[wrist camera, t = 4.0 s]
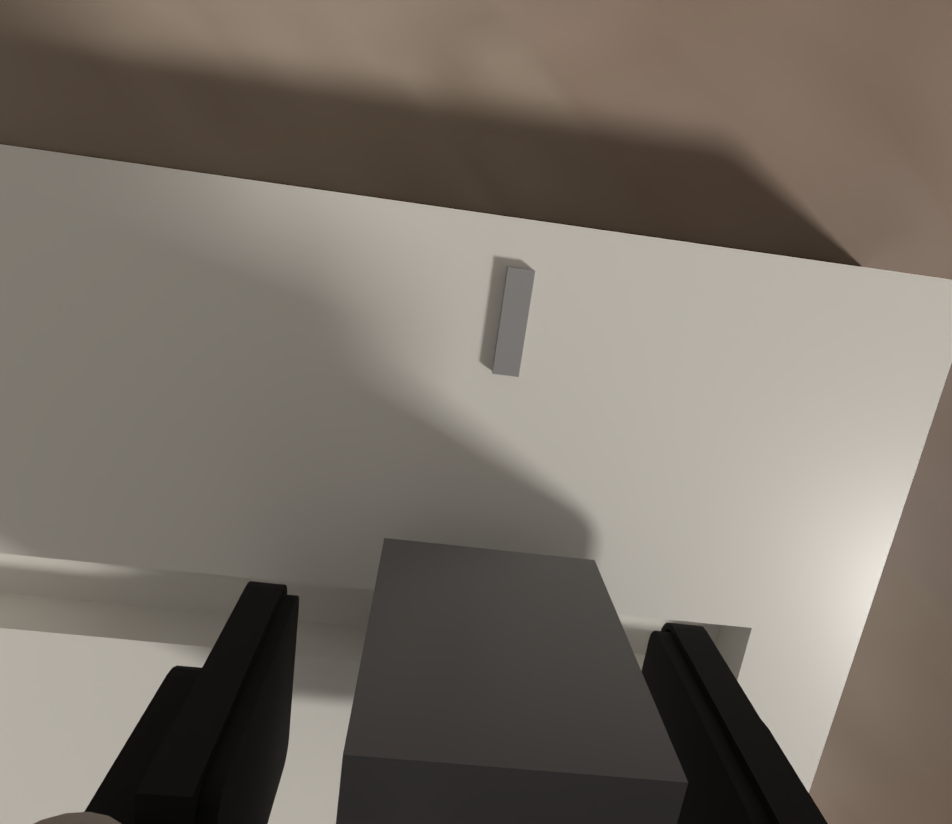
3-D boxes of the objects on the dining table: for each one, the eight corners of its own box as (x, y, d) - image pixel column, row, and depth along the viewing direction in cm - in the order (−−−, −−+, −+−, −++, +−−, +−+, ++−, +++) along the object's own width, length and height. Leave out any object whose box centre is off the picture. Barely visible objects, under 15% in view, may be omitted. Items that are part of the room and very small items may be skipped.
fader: (523, 729, 14) (586, 1159, 7) (369, 715, 13) (302, 1149, 7) (566, 493, 12) (688, 782, 6) (396, 474, 12) (343, 754, 6)
